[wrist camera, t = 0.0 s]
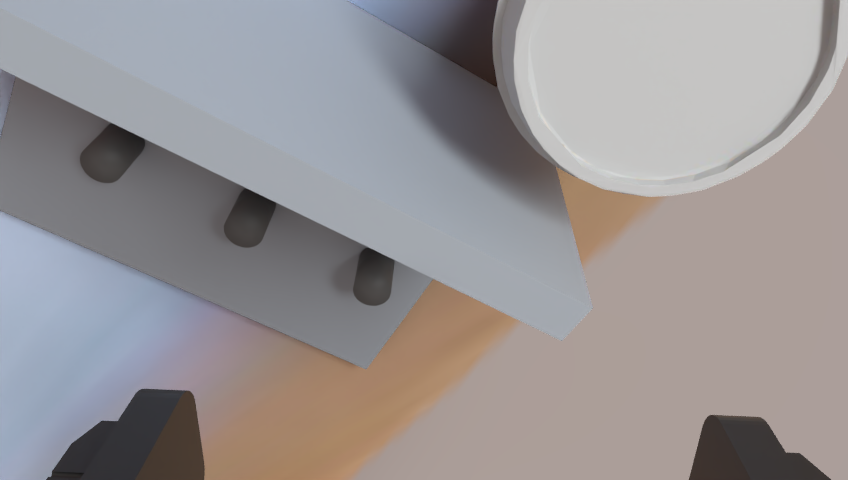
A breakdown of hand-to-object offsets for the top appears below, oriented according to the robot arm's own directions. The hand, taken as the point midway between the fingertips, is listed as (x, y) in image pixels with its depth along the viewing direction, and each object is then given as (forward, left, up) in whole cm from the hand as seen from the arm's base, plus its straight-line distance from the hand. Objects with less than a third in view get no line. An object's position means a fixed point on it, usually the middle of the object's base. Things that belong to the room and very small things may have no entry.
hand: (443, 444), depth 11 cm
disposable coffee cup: (-6, +4, -23) cm, 23 cm away
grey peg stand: (+10, -5, -22) cm, 25 cm away
